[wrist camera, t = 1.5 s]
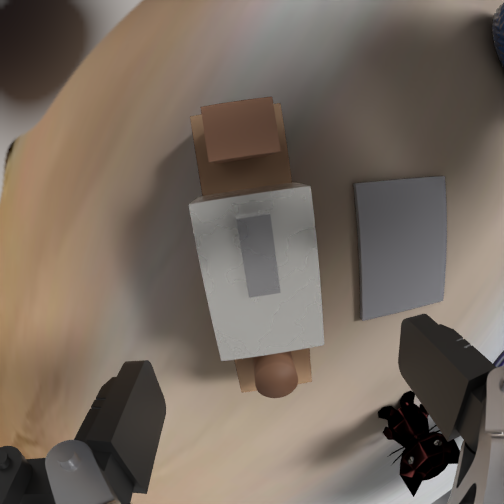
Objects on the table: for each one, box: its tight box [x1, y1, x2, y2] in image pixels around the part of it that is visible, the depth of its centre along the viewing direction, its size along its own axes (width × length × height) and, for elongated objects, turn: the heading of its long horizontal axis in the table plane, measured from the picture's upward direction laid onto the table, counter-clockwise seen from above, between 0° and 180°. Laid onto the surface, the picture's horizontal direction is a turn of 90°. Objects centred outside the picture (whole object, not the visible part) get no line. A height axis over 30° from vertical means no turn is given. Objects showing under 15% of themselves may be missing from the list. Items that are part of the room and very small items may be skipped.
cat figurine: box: [378, 391, 460, 497], centre depth 25 cm, size 7×7×12 cm
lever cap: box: [188, 182, 324, 361], centre depth 18 cm, size 9×6×5 cm, turn 8°
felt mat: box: [353, 176, 447, 321], centre depth 25 cm, size 12×9×1 cm
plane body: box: [190, 97, 312, 398], centre depth 20 cm, size 20×6×11 cm, turn 8°
